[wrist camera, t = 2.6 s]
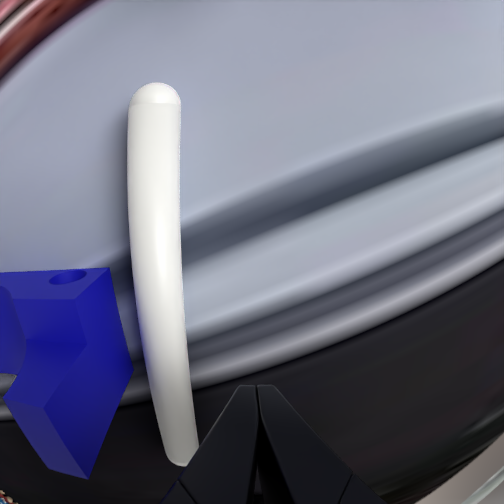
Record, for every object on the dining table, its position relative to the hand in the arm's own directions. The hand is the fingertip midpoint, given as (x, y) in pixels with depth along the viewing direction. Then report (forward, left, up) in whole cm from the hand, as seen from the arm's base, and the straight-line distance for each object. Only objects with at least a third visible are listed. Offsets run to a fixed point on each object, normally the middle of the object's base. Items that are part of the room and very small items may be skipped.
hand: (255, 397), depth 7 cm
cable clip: (-1, +11, -5) cm, 12 cm away
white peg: (0, +3, -4) cm, 5 cm away
